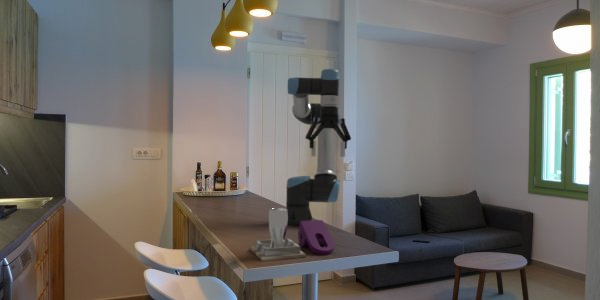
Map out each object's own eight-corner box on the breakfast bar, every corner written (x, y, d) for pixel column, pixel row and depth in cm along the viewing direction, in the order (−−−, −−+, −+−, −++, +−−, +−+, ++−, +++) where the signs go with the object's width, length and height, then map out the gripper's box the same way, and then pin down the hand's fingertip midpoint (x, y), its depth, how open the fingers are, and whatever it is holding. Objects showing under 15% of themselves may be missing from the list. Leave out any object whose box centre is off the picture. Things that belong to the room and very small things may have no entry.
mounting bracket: (333, 267, 152) (318, 236, 167) (338, 249, 148) (322, 220, 164) (310, 269, 149) (297, 238, 164) (314, 251, 145) (300, 221, 161)
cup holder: (250, 249, 153) (250, 239, 153) (290, 245, 159) (290, 237, 158) (261, 260, 138) (262, 250, 138) (305, 257, 144) (305, 247, 144)
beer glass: (264, 249, 149) (265, 208, 148) (279, 246, 153) (280, 207, 153) (275, 253, 143) (276, 211, 143) (291, 250, 148) (291, 209, 148)
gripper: (305, 104, 164) (304, 156, 164) (359, 107, 173) (358, 157, 173) (298, 105, 171) (297, 155, 171) (351, 108, 180) (350, 156, 180)
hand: (328, 156), depth 172 cm, fingers open, 13 cm apart
